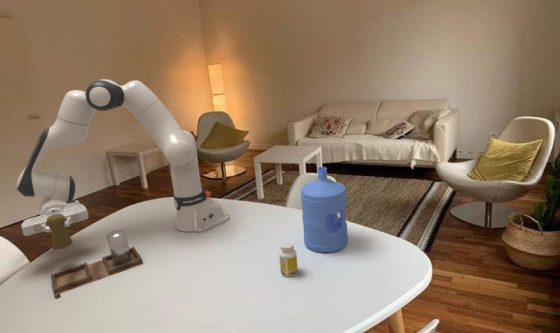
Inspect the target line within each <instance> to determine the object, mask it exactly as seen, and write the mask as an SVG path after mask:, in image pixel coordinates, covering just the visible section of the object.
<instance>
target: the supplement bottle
mask: <svg viewBox="0 0 560 333" xmlns="http://www.w3.org/2000/svg"><path fill="white" fill-rule="evenodd" d="M278 256H279V266H280V268H279V269H280V273H281V274H280V275H282V276H283V275H284V277H286V276H291V277H294V276H296V275H297V274H298V272H299V269H298V258H297V257H298V256H297V250H295V246H294V243H293V242H291V241H285V242H282V243H281V244H280V250H279V253H278ZM293 275H294V276H293Z"/></svg>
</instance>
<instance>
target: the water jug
mask: <svg viewBox="0 0 560 333" xmlns="http://www.w3.org/2000/svg"><path fill="white" fill-rule="evenodd" d="M327 170H328V168H327V167H325V166H320V167H318V168H317V176H318V178H317V179H315V180H313V181H311V182H309V183H306V184H305V185H303V186H302V187H301V189H300V199H301V200H300V202H301V209H302V211H301V212H302V214H301V215H302V216H301V219H302V225H303V243H304V246H306V247H307V248H308V249H309V250H311V251H314V252H317V253H323V252H328V253H333V252H334V251H335V252H337V250H338V251H341V250H342V249H344V248H345V247H346V246H347V245H348V242H349V234H348V223H347V221H346V208H347V199H348V197H347V195H348V194H347V189H346V185H344V184H343V183H341V182H339V181H335V180H332V179H329V178H328V171H327ZM338 214H339V216H338Z"/></svg>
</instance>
